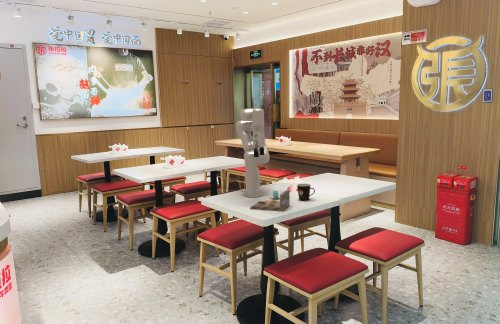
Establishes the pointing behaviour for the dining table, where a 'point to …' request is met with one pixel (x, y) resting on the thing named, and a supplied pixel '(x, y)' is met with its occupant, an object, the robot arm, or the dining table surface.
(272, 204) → the slider block
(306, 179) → the dining table surface
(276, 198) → the dowel
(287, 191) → the rail board
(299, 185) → the coffee mug
